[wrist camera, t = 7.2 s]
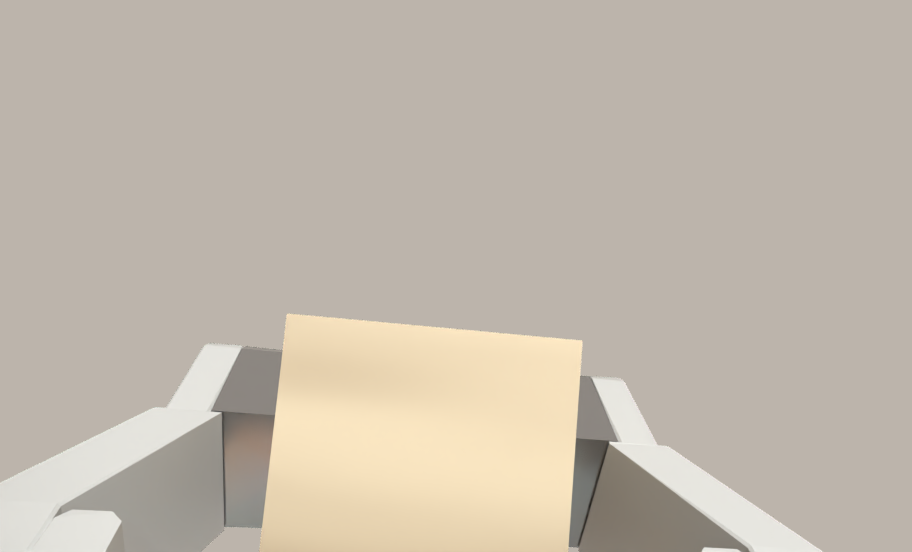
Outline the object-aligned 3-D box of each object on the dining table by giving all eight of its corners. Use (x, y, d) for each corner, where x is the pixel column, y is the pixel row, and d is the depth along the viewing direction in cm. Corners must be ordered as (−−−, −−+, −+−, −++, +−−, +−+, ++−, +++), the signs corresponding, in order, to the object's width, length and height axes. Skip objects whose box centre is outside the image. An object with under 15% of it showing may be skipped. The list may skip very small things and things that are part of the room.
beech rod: (561, 646, 6) (583, 340, 7) (250, 632, 6) (286, 313, 6) (430, 411, 26) (436, 337, 26) (356, 405, 26) (363, 331, 26)
